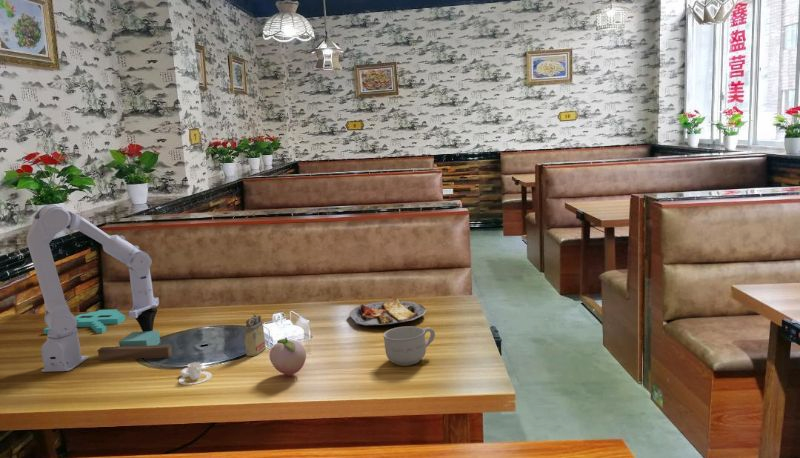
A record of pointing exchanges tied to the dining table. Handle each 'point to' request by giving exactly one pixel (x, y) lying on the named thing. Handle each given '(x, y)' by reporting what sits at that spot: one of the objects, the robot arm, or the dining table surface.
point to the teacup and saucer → (193, 373)
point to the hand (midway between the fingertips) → (148, 333)
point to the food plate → (387, 312)
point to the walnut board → (134, 352)
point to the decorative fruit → (288, 356)
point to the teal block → (141, 339)
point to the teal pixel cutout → (97, 320)
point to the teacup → (407, 344)
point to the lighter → (254, 336)
